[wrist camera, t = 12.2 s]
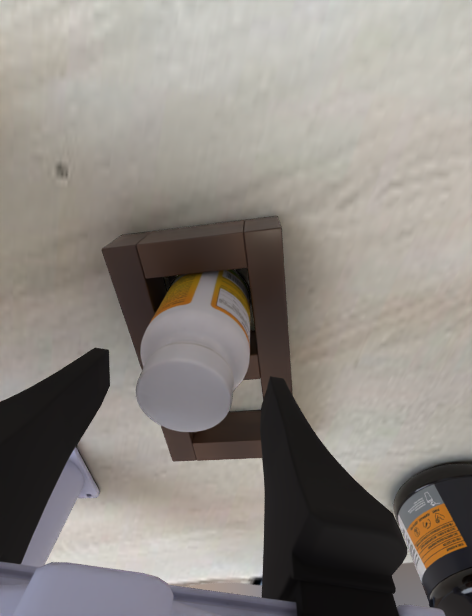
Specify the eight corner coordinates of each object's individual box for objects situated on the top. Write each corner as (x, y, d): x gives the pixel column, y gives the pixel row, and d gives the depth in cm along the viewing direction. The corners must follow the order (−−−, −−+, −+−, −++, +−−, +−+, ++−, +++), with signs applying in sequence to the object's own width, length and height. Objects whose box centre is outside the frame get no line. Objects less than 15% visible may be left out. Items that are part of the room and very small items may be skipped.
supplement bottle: (170, 324, 23) (119, 436, 14) (173, 253, 20) (114, 335, 11) (244, 335, 23) (239, 452, 14) (256, 265, 20) (259, 356, 12)
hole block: (180, 431, 28) (172, 461, 25) (121, 234, 20) (100, 248, 17) (292, 425, 27) (296, 456, 24) (277, 215, 19) (281, 227, 16)
